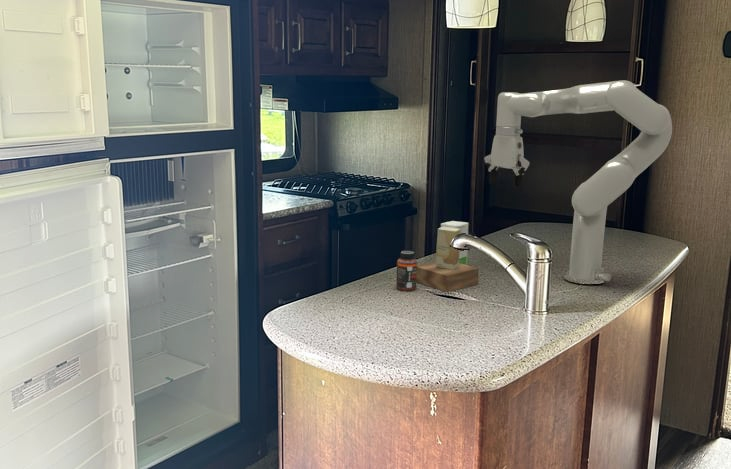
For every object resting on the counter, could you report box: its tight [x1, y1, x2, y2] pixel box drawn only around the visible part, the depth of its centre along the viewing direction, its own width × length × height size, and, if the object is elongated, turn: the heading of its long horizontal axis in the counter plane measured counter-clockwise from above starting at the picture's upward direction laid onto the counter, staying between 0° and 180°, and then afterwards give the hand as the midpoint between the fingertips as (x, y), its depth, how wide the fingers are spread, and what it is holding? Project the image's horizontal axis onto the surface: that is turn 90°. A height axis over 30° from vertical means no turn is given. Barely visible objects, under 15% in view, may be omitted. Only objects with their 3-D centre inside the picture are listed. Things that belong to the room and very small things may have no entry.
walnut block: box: [416, 260, 479, 293], centre depth 221 cm, size 14×14×5 cm
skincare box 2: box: [440, 220, 470, 265], centre depth 237 cm, size 8×7×16 cm
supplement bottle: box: [395, 250, 418, 292], centre depth 214 cm, size 6×6×11 cm
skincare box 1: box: [435, 226, 461, 270], centre depth 219 cm, size 6×4×12 cm
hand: (504, 185), depth 231 cm, fingers open, 9 cm apart
